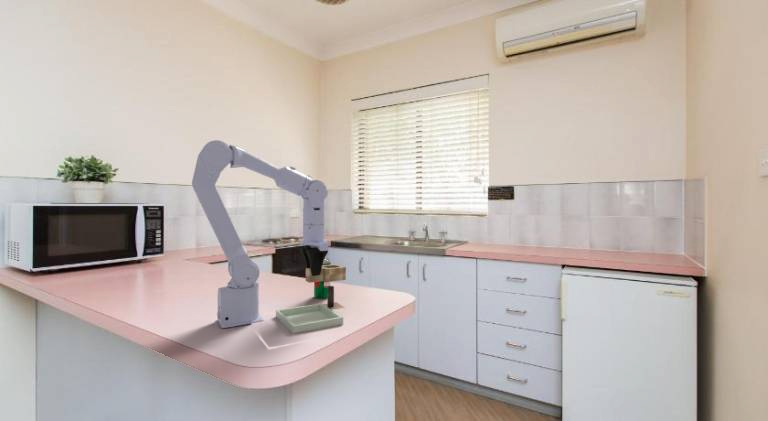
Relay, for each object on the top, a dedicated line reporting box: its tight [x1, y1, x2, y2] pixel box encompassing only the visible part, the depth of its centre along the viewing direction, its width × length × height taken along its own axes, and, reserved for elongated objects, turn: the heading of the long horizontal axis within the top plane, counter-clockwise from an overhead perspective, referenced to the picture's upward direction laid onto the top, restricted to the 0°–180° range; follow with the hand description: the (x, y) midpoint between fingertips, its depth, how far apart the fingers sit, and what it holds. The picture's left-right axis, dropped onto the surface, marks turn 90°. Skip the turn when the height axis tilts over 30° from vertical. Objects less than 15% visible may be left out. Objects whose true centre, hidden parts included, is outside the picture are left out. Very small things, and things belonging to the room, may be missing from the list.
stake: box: [322, 285, 346, 311], centre depth 100 cm, size 6×6×6 cm
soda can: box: [313, 257, 332, 300], centre depth 111 cm, size 5×5×12 cm
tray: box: [275, 303, 344, 335], centre depth 88 cm, size 12×14×2 cm
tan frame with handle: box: [305, 263, 347, 283], centre depth 99 cm, size 10×6×4 cm, turn 124°
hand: (313, 274), depth 97 cm, fingers closed on tan frame with handle, 2 cm apart
